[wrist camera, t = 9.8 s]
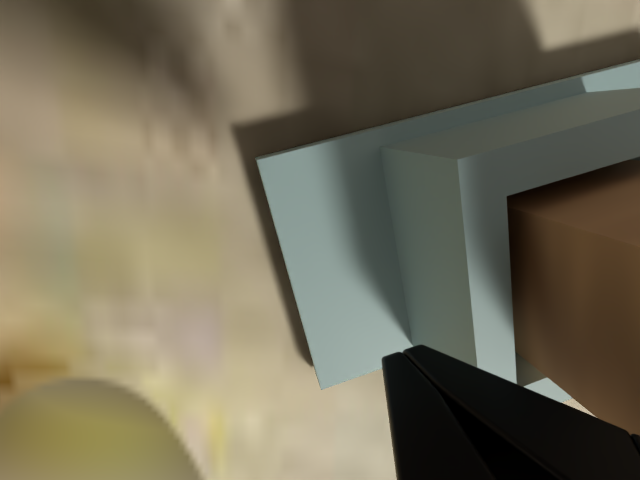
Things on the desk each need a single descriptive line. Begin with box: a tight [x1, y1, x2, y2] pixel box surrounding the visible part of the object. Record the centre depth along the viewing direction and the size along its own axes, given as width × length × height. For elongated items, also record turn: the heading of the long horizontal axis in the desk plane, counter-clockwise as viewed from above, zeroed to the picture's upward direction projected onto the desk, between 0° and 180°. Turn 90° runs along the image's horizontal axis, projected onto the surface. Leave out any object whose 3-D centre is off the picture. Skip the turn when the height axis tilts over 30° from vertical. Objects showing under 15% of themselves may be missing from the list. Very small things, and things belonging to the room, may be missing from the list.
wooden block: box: [507, 160, 640, 436], centre depth 9 cm, size 4×4×8 cm
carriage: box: [255, 59, 640, 402], centre depth 11 cm, size 8×14×5 cm, turn 103°
